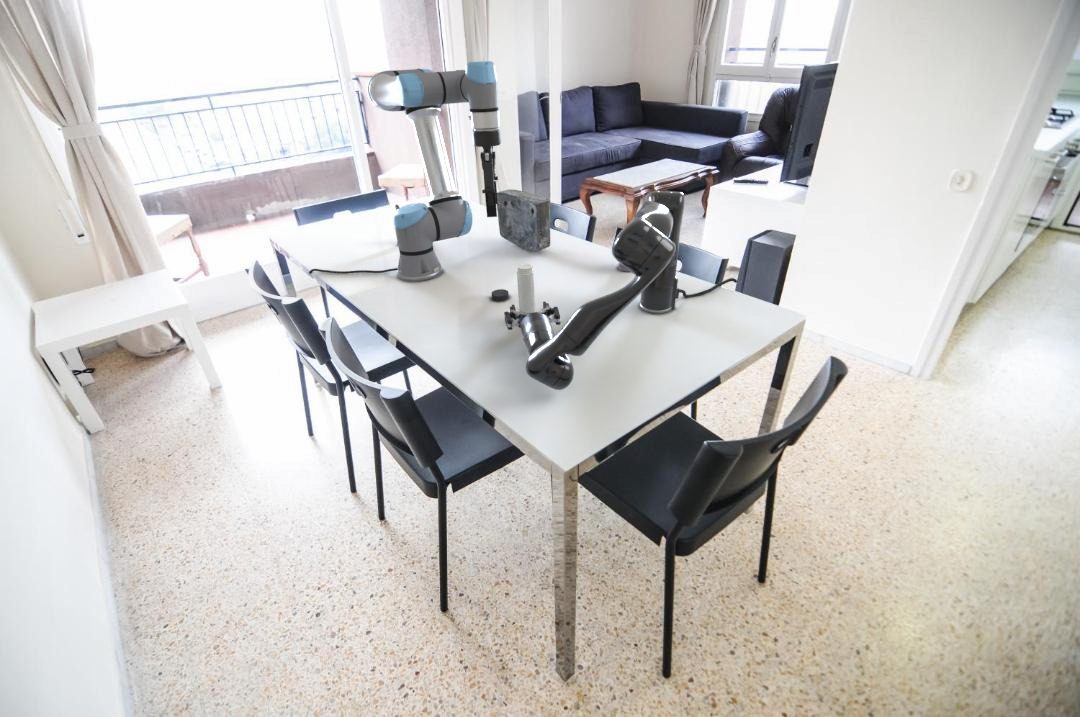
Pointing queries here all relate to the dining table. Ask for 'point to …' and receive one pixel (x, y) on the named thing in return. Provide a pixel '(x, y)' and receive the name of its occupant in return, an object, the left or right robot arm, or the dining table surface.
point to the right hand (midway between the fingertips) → (528, 306)
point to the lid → (500, 295)
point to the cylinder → (526, 288)
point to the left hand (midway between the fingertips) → (492, 210)
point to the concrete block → (524, 219)
